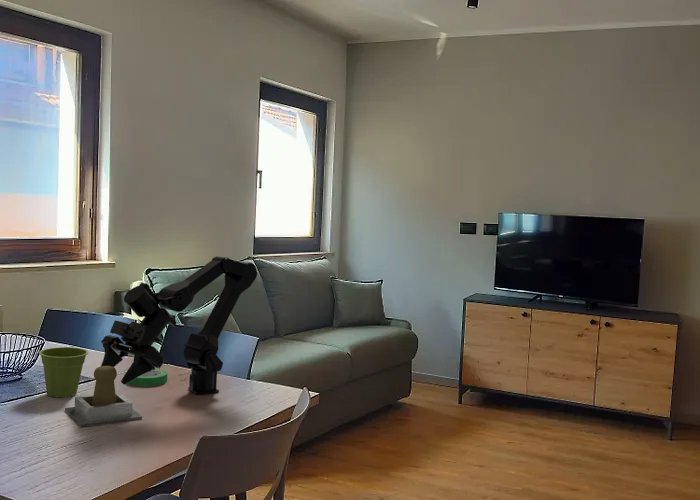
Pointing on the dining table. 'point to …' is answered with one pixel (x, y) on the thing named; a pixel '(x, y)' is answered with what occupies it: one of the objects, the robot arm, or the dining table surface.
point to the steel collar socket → (102, 411)
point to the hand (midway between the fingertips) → (110, 379)
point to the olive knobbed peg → (104, 386)
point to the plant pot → (62, 370)
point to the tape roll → (150, 378)
